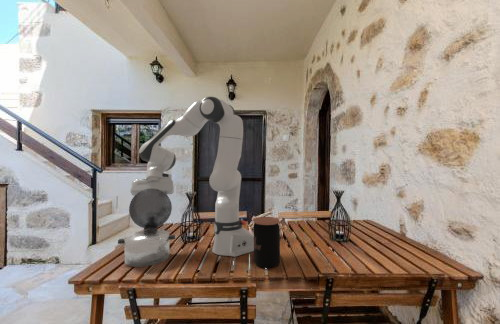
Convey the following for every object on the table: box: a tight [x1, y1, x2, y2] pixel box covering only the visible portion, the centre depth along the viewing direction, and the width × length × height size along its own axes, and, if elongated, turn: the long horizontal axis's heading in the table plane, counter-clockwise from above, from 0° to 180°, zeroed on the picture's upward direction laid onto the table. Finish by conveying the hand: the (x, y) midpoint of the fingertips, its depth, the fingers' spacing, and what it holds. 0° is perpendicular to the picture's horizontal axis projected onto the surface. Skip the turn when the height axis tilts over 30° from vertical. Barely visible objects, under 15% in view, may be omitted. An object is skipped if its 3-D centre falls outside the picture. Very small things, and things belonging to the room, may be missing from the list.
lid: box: [128, 188, 173, 231], centre depth 119 cm, size 20×19×3 cm
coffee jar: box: [253, 216, 281, 269], centre depth 101 cm, size 11×11×18 cm
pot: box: [117, 229, 176, 268], centre depth 108 cm, size 18×23×10 cm
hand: (151, 200), depth 119 cm, fingers closed, pressing on lid
